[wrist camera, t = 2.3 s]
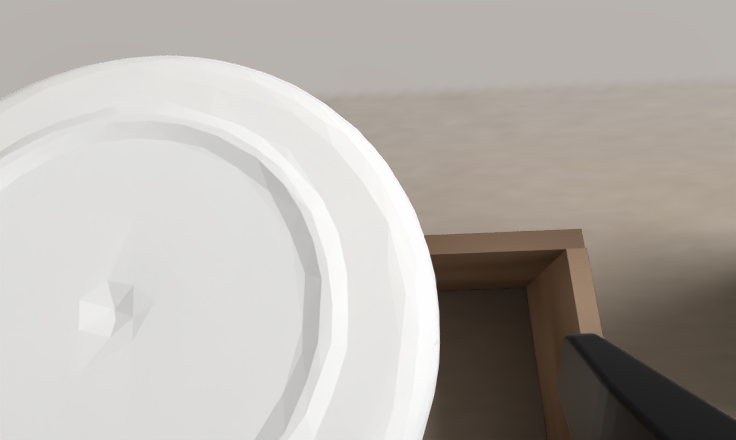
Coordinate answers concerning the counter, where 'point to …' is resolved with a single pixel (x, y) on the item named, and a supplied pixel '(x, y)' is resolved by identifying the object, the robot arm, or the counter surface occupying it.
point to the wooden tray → (528, 291)
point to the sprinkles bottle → (205, 263)
